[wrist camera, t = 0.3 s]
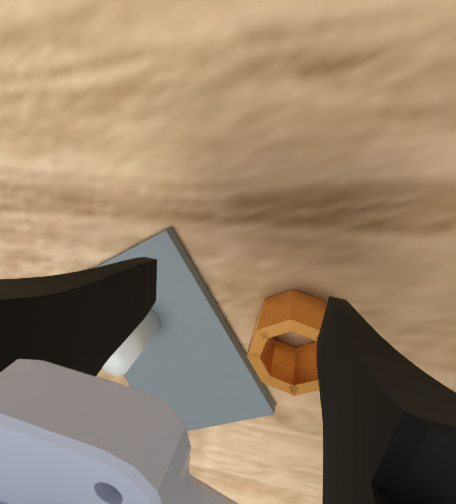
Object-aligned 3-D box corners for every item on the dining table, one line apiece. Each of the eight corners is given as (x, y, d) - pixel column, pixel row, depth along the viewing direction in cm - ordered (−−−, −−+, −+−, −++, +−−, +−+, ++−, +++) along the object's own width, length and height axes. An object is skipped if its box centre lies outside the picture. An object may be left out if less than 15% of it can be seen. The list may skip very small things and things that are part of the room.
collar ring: (344, 343, 22) (352, 383, 19) (277, 361, 24) (272, 400, 21) (314, 281, 21) (316, 310, 18) (245, 305, 23) (235, 336, 20)
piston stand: (275, 404, 26) (267, 474, 21) (170, 426, 30) (140, 488, 25) (171, 226, 22) (128, 254, 17) (68, 280, 27) (8, 317, 21)
